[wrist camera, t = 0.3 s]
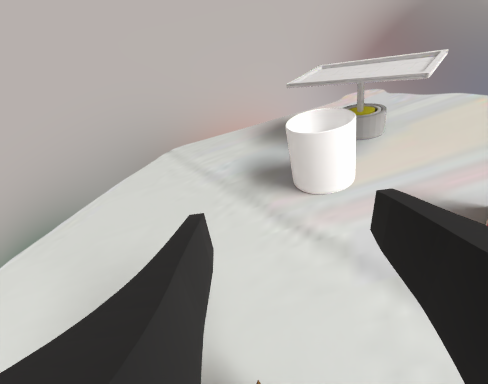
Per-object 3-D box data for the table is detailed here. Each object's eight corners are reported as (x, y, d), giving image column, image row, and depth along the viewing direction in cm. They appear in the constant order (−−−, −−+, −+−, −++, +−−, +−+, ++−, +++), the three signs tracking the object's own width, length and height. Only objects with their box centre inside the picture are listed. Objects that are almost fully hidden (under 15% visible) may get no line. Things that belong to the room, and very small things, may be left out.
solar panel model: (293, 142, 66) (286, 83, 57) (323, 118, 75) (320, 64, 67) (415, 154, 48) (429, 72, 40) (434, 120, 57) (449, 48, 49)
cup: (355, 162, 51) (356, 104, 44) (354, 195, 42) (355, 129, 36) (298, 163, 55) (292, 111, 49) (287, 194, 47) (278, 135, 40)
